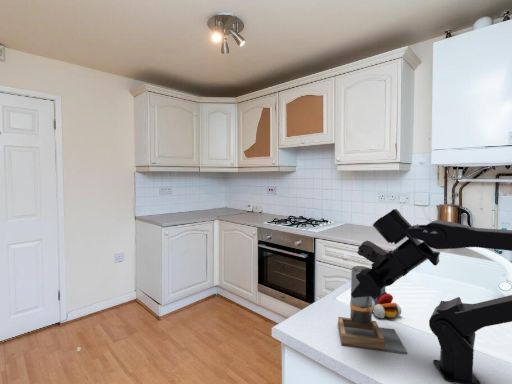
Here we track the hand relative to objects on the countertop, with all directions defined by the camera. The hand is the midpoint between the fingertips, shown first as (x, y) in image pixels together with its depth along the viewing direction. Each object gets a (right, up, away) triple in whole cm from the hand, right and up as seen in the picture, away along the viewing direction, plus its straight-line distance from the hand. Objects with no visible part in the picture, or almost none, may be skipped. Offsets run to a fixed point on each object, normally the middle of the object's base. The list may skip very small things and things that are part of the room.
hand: (356, 292), depth 74 cm
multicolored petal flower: (+13, -12, +14) cm, 22 cm away
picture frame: (+3, -11, 0) cm, 12 cm away
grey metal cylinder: (+1, -7, -1) cm, 7 cm away
